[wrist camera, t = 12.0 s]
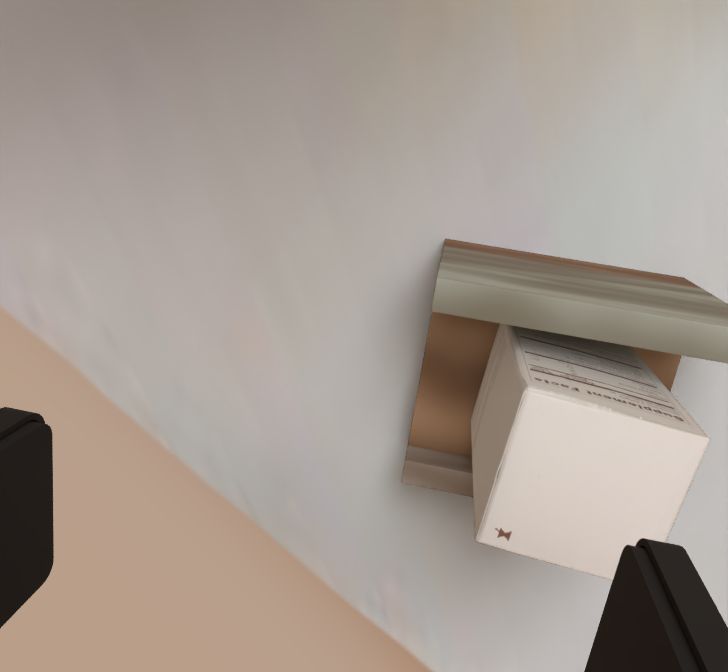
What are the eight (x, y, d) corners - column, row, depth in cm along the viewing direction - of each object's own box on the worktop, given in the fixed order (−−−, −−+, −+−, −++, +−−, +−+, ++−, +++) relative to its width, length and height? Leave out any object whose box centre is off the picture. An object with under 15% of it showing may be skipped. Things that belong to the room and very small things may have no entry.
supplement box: (588, 455, 38) (645, 598, 26) (467, 421, 38) (468, 545, 26) (633, 340, 36) (719, 440, 24) (503, 306, 36) (522, 385, 24)
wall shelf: (445, 238, 38) (437, 277, 27) (683, 277, 37) (781, 336, 26) (408, 445, 43) (387, 553, 31) (620, 487, 41) (680, 616, 30)
